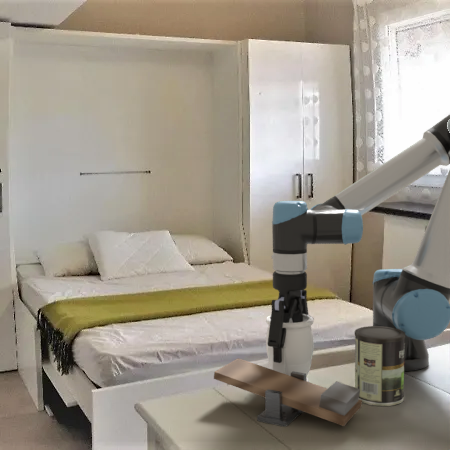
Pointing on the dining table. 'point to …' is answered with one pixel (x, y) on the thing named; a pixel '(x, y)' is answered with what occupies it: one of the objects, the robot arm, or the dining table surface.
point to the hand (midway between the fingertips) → (289, 368)
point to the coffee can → (379, 365)
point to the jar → (295, 345)
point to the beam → (294, 390)
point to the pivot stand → (279, 407)
